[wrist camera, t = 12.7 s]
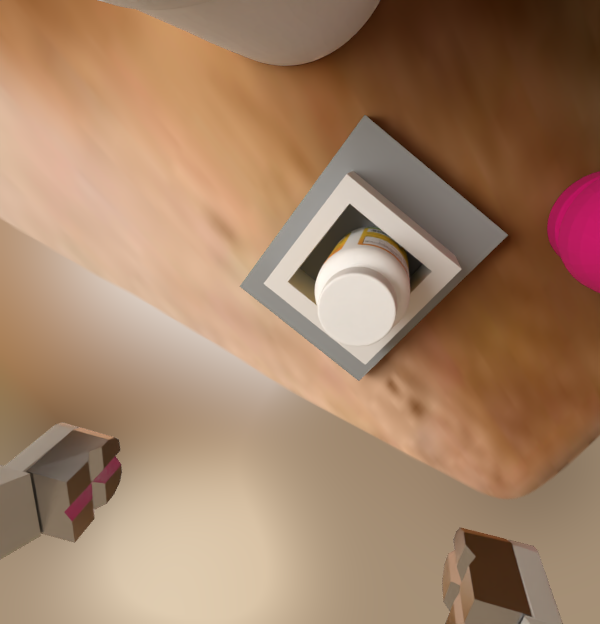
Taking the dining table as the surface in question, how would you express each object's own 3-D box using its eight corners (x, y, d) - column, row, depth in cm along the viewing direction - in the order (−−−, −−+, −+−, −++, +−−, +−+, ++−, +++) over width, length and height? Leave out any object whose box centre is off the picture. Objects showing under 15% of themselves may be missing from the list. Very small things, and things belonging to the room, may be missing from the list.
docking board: (246, 280, 34) (222, 301, 30) (366, 116, 28) (359, 110, 23) (360, 371, 35) (354, 405, 30) (503, 230, 29) (522, 246, 24)
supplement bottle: (343, 306, 32) (320, 367, 23) (322, 237, 30) (289, 273, 21) (416, 290, 30) (422, 350, 21) (398, 216, 28) (397, 246, 20)
